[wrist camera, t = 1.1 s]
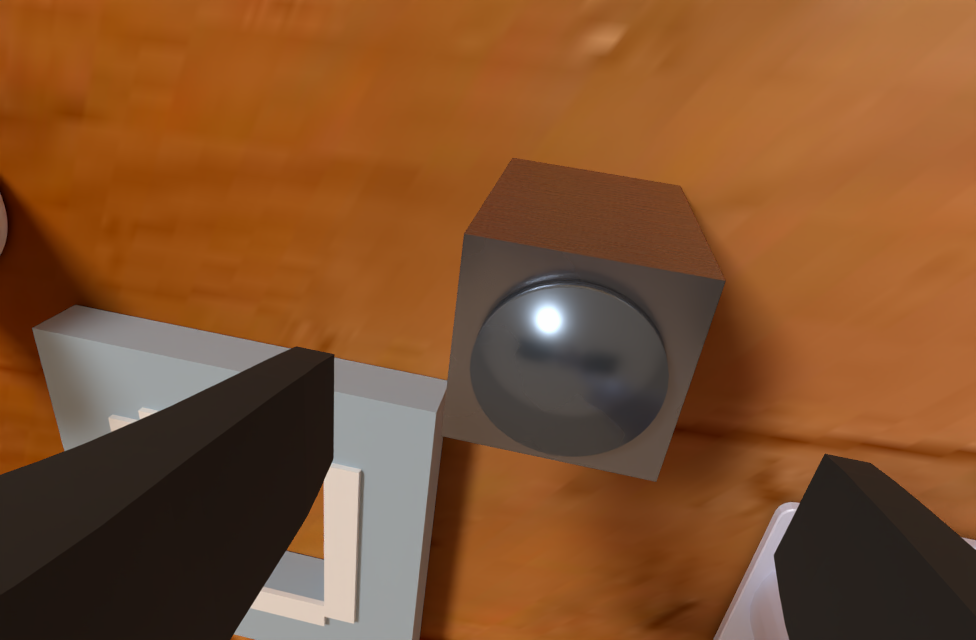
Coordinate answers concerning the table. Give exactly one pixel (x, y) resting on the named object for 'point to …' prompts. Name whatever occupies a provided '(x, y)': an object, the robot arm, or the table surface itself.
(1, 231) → the pill bottle
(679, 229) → the lens block
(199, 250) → the table surface
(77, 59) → the table surface
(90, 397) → the mount plate
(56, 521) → the robot arm
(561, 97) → the table surface
